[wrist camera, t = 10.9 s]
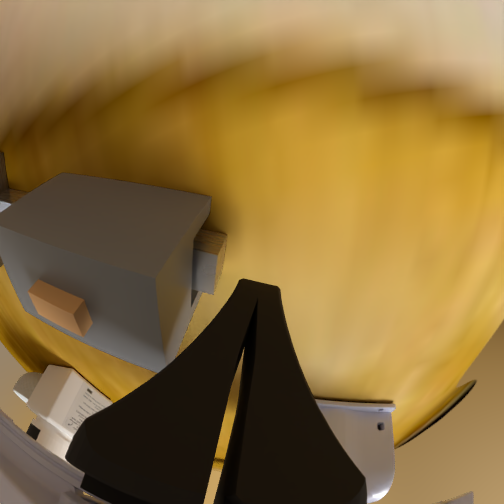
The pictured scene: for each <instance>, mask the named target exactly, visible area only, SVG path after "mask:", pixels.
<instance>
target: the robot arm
mask: <svg viewBox="0 0 504 504" xmlns="http://www.w3.org/2000/svg"><path fill="white" fill-rule="evenodd" d="M244 347H245V348H244ZM243 350H244V356H243V364H242V373H241V381H240V390H239V398H238V404H237V410H236V414H235V419H234V423H233V427H232V432H231V436H230V440H229V444H228V449H227V453H226V457H225V461H224V465H223V469H222V473H221V477H220V480H219V484H218V488H217V492H216V496H215V499H214V503H213V504H367V503H371V502H375V501H378V500H380V499H381V498H382V497H383V496H385V495H386V494H387V492H388V491H389V489H390V487H391V484H392V482H393V478H394V472H395V459H394V440H393V428H392V417H391V412H392V411H394V410H395V409H396V405H395V404H377V403H354V402H340V401H328V400H319V399H314V397H313V395H312V393H311V390H310V388H309V386H308V384H307V382H306V379H305V377H304V374H303V372H302V369H301V367H300V364H299V361H298V359H297V356H296V353H295V350H294V347H293V344H292V341H291V337H290V334H289V330H288V327H287V323H286V319H285V315H284V310H283V305H282V300H281V292H280V289H279V287H278V286H273V285H269V284H265V283H260V282H256V281H252V280H248V279H241V280H239V282H238V284H237V286H236V288H235V290H234V291H233V293H232V295H231V296H230V298H229V299H228V301H227V302H226V303H225V305H224V306H223V308H222V309H221V310H220V311H219V313H218V314H217V315H216V316H215V318H214V319H213V320H212V321H211V323H210V324H209V325H208V326H207V327H206V328H205V329H204V330H203V332H202V333H201V334H200V335H199V336H198V337H197V338H196V339H195V340H194V341H193V342H192V343H191V344H190V345H189V346H188V347H187V348H186V349H185V350H184V351H183V352H182V353H181V354H180V355H179V356H178V357H176V358H175V359H174V360H173V361H172V362H171V363H170V364H168V365H167V366H166V367H165V368H163V369H162V370H161V371H160V372H159V373H157V374H156V375H155V376H154V377H152V378H151V379H150V380H148V381H147V382H145V383H144V384H143V385H141V386H140V387H138V388H137V389H135V390H134V391H132V392H131V393H129V394H128V395H126V396H125V397H123V398H122V399H120V400H118V401H117V402H115V403H113V404H111V405H110V406H108V407H106V408H104V409H102V410H100V411H99V412H97V413H95V414H93V415H91V416H89V417H87V418H86V419H85V420H84V421H83V423H82V424H81V425H80V427H79V428H78V430H77V431H76V433H75V434H74V436H73V438H72V440H71V443H70V445H69V448H68V450H67V452H66V455H65V459H66V461H67V462H66V461H65V460H63V459H61V458H60V457H58V456H57V455H55V454H54V453H52V452H51V451H49V450H48V449H47V448H45V447H44V446H42V445H41V444H40V443H38V442H37V441H36V440H34V439H33V438H32V437H30V436H29V435H28V434H26V433H25V432H24V431H22V430H21V429H20V428H19V427H18V426H17V425H15V424H14V423H13V420H12V419H11V418H10V417H8V416H7V415H6V414H5V413H4V412H3V411H2V410H1V409H0V503H1V504H203V503H204V499H205V495H206V491H207V487H208V482H209V478H210V474H211V470H212V465H213V461H214V457H215V453H216V448H217V444H218V440H219V435H220V431H221V427H222V422H223V418H224V414H225V409H226V405H227V401H228V397H229V392H230V388H231V385H232V382H233V379H234V376H235V373H236V370H237V367H238V365H239V362H240V359H241V356H242V353H243ZM68 462H69V463H70V464H69V463H68ZM83 492H85V493H87V494H89V495H91V496H93V497H91V496H87V495H84V494H83ZM434 504H473V492H472V491H471V492H468V493H465V494H462V495H460V496H457V497H455V498H452V499H449V500H445V501H441V502H437V503H434Z"/></svg>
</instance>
